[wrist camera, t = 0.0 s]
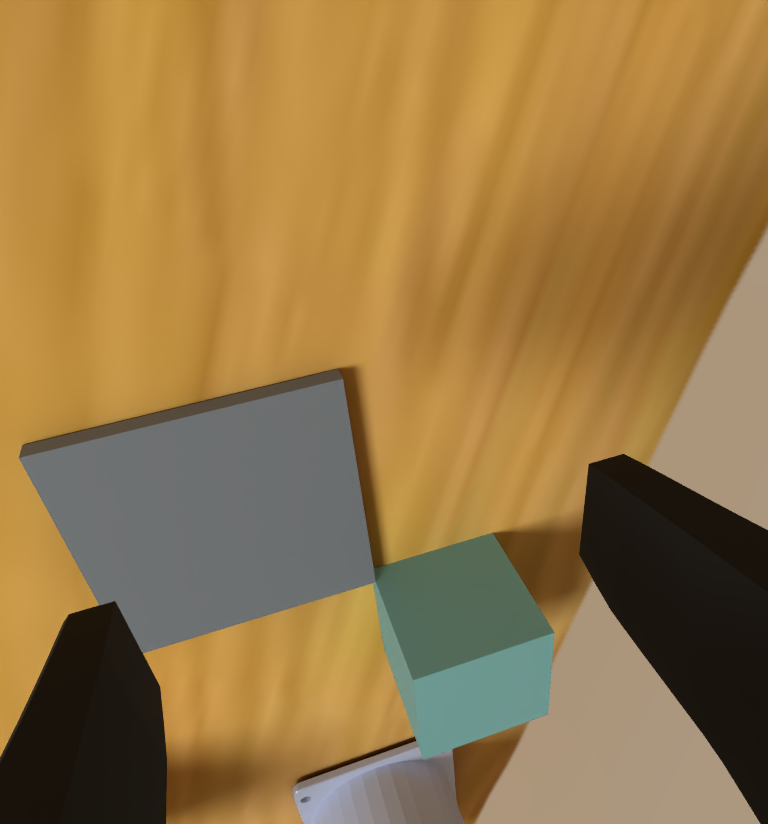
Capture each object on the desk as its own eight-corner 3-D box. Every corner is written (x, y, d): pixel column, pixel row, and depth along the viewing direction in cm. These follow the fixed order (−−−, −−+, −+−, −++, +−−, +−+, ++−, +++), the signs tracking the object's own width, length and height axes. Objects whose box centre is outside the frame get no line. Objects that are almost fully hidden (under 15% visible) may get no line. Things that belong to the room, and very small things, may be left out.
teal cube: (492, 611, 29) (548, 714, 25) (383, 647, 28) (423, 759, 24) (491, 531, 26) (554, 632, 22) (370, 568, 25) (413, 680, 21)
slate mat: (371, 570, 25) (375, 582, 24) (128, 643, 23) (128, 657, 23) (338, 368, 20) (342, 378, 19) (22, 445, 18) (19, 457, 18)
